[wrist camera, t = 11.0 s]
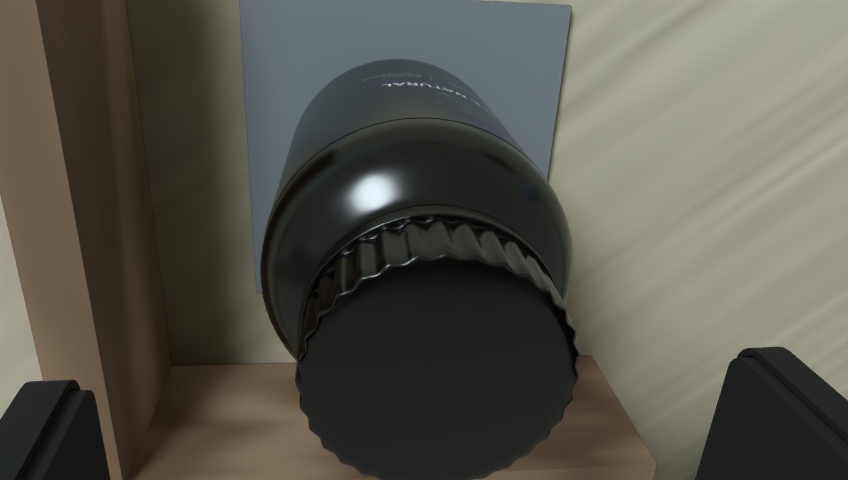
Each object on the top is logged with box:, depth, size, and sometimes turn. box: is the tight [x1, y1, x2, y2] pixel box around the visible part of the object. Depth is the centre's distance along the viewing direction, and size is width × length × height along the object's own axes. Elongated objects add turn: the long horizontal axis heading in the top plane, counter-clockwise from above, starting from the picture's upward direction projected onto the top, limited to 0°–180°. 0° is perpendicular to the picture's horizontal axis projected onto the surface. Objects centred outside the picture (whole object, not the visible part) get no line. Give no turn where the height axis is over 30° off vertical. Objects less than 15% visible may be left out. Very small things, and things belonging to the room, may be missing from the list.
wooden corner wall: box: [0, 0, 657, 480], centre depth 19 cm, size 18×18×6 cm
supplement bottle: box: [260, 59, 580, 480], centre depth 16 cm, size 7×7×12 cm
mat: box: [239, 0, 572, 292], centre depth 22 cm, size 10×10×1 cm
